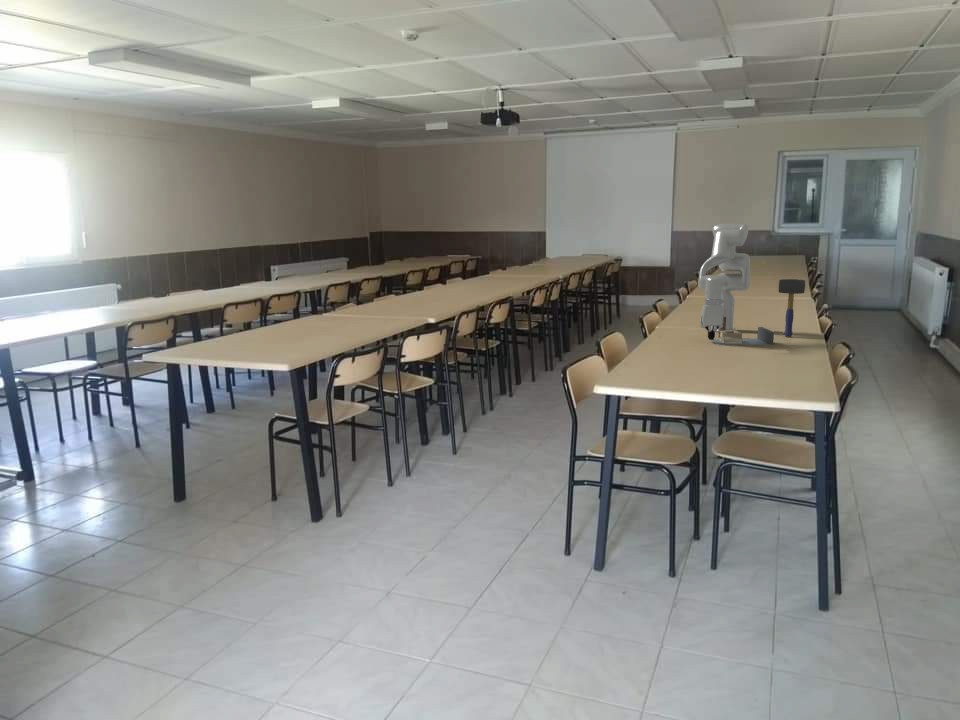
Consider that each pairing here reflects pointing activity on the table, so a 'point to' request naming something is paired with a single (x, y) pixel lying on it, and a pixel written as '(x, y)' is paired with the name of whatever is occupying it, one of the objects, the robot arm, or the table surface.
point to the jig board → (762, 339)
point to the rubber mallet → (790, 299)
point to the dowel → (723, 326)
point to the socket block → (731, 337)
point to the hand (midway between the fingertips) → (711, 339)
